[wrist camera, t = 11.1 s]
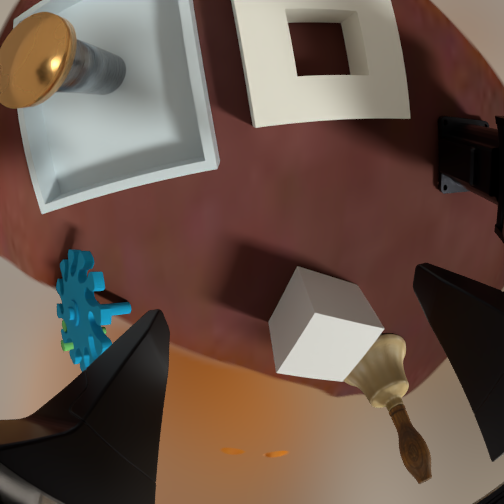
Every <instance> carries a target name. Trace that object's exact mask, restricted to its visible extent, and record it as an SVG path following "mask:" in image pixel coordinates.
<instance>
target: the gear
mask: <svg viewBox="0 0 504 504" xmlns="http://www.w3.org/2000/svg"><path fill="white" fill-rule="evenodd" d="M93 265H94V258H93V256H92V254H91V252H90V251H81V250H71V249H69V251H68V260H65V259H64V260H62V261H61V263H60V270H61V273H62V277H63V279H58V280H57V284H56V290H57V292H58V294H59V295H60V297H61V300H62V304H57V316H58V318H62V319H63V321H62V327H63V329H62V330H61V333H62V338H63V340H61V346H62V349H63V351H69V350H70V357H71V359H72V361H73V363H74V364H79V363H80V368H81V371H82V372H83V371H84V370H86V368H87V367H88V366H89V365H90V364H91V363H92V362H94V361H95V360H96V359H97V358H98V357H99V356H100V355H101V354H102V353H103V352H104V351H105V350H106V349H107V348H109V347H110V346H111V345H112V342H111V340H110V339H109V338H108V337H107V336H106V335H105V334H106V328H105V327H101V325H109V324H111V316H113V315H121V314H129V313H130V312H131V305H130V303H129V302H122V303H111V304H100V303H99V302H98V301H96V299H95V297H94V291H103V290H104V289H105V283H104V277H103V273H102V272H90V273H89V274H88V277H87V271H88V270H89V269H92V268H93Z"/></svg>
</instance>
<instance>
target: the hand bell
mask: <svg viewBox="0 0 504 504" xmlns="http://www.w3.org/2000/svg"><path fill="white" fill-rule="evenodd" d="M405 353H406V344H405V341H404V339H403V338H402V337H400V336H398V335H395V334H384V335H380V336H379V337H378V338H377V340H376V341H375V342H374V344H373V345H372V346H371V347H370V349H369V350H368V351H367V353H366V354H365V355H364V356H363V358H362V359H361V360H360V361H359V363H358V364H357V365H356V366H355V367H354V369H353V370H352V371H351V372H350V373H349V375H348V376H347V377H346V378H345V379H344V380H343V381H344V382H346V383H347V384H349V385H352V386H356V387H358V388H359V389H361V390H362V392H363V393H364V394H365V396H366V397H367V399H368V400H369V402H370V404H371V405H372V406H374V407H376V408H381V407H387V409H388V411H389V415H390V416H391V417H392V420H393V423H394V425H395V427H396V429H397V432H398V436H399V449H400V454H401V457H402V460H403V463H404V465H405V467H406V468H407V470H408V471H409V472H410V473H411V474H412V475H413V476H414V478H415V479H416V480H417V482H418V483H419V484H421V483H423V482H426V481H427V480H429V479H431V477H432V475H431V457H430V452H429V449H428V447H427V444H426V442H425V441H424V439H423V438H422V436H421V435H420V434H419V433H418V432H417V431H416V429H415V428H414V427H413V425H412V424H411V422H410V419H409V416H408V414H407V411H406V410H405V406H404V405H403V402H402V399H401V398H402V397H403V396H404V395H405V393H406V392H407V390H408V386H409V385H408V381H407V379H406V376H405V373H404V368H403V359H404V357H405Z"/></svg>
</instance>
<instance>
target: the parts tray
mask: <svg viewBox="0 0 504 504" xmlns="http://www.w3.org/2000/svg"><path fill="white" fill-rule="evenodd" d="M39 12H50V13H53V14H56V15H58V16H60V17H63V18H65V19H67V20H68V21H69V22H70V23H71V24H72V25H73V27H74V29H75V32H76V38H77V39H78V40H81V41H84V42H86V43H89V44H91V45H94V46H96V47H99V48H101V49H104V50H106V51H108V52H111V53H113V54H115V55H118V56H119V57H121V58H122V59H123V61H124V62H125V65H126V75H125V78H124V80H123V82H122V84H121V85H120V86H119V87H118V88H117V89H116V90H115V91H113V92H112V93H109V94H106V95H97V94H83V93H62V92H55V93H54V94H53V95H52V96H51V97H50V98H49V99H47V100H46V101H44V102H43V103H41V104H39V105H37V106H33V107H26V108H17V111H18V118H19V124H20V130H21V136H22V141H23V146H24V151H25V155H26V160H27V164H28V168H29V172H30V176H31V180H32V183H33V187H34V190H35V194H36V197H37V200H38V204H39V207H40V210H41V213H42V214H45V213H47V212H50V211H53V210H56V209H59V208H63V207H66V206H69V205H72V204H75V203H78V202H82V201H85V200H88V199H92V198H95V197H99V196H102V195H106V194H109V193H113V192H117V191H121V190H124V189H128V188H132V187H136V186H140V185H144V184H148V183H152V182H157V181H161V180H165V179H170V178H174V177H179V176H184V175H189V174H194V173H199V172H204V171H209V170H214V169H218V166H219V163H220V158H219V153H218V147H217V142H216V136H215V130H214V125H213V119H212V113H211V108H210V102H209V96H208V90H207V85H206V79H205V73H204V67H203V61H202V55H201V49H200V43H199V37H198V31H197V24H196V18H195V12H194V5H193V0H42V1H40V2H39V3H37V4H36V5H34V6H33V7H31V8H30V9H28V10H27V11H25V12H24V13H22V14H21V15H20V16H18V17H17V18H15V19H14V21H13V29H14V28H15V27H16V26H17V25H18V24H19V23H20V22H21V21H23V20H24V19H26V18H27V17H29V16H31V15H33V14H36V13H39Z"/></svg>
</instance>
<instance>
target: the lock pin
mask: <svg viewBox="0 0 504 504" xmlns="http://www.w3.org/2000/svg"><path fill="white" fill-rule="evenodd" d="M125 75H126V65H125V62H124V61H123V59H122V58H121V57H119V56H118V55H115V54H113V53H111V52H108V51H106V50H104V49H101V48H99V47H96V46H94V45H91V44H89V43H86V42H84V41H81V40H78V39H77V38H76V32H75V29H74V27H73V25H72V24H71V23H70V22H69V21H68V20H67V19H65V18H63V17H60V16H58V15H56V14H53V13H50V12H39V13H36V14H33V15H31V16H29V17H27V18H26V19H24V20H23V21H21V22H20V23H19V24H18V25H17V26H16V27H15V28H14V29H13V30H12V31H11V32H10V34H9V35H8V36H7V38H6V39H5V41H4V42H3V44H2V46H1V48H0V103H1V104H2V105H4V106H5V107H8V108H13V109H16V108H26V107H33V106H37V105H39V104H41V103H43V102H44V101H46V100H47V99H49V98H50V97H51V96H52V95H53V94H54V93H55V92H62V93H83V94H97V95H106V94H109V93H112V92H113V91H115V90H116V89H117V88H118V87H119V86H120V85H121V84H122V82H123V80H124V78H125Z"/></svg>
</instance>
